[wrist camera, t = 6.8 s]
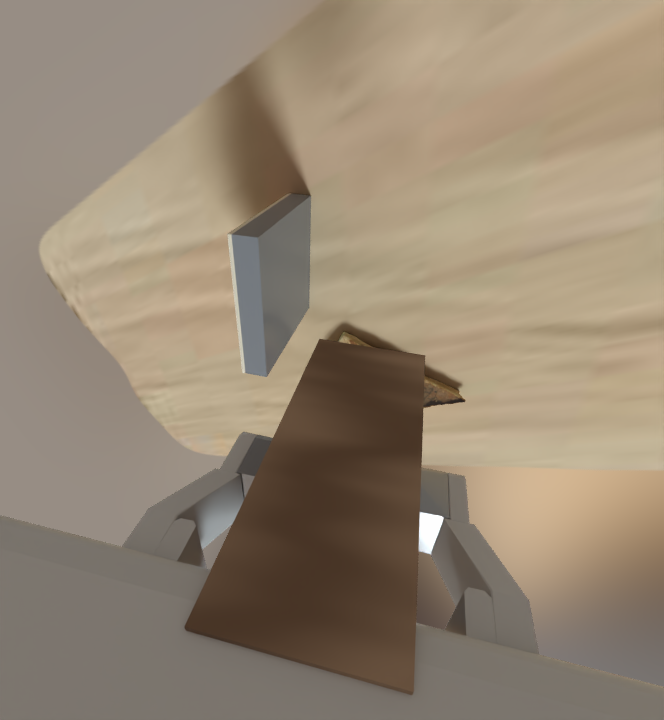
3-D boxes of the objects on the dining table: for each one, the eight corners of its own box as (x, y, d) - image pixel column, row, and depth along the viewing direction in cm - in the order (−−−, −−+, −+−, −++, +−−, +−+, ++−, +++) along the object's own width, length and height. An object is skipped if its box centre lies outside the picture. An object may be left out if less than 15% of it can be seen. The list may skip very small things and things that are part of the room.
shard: (465, 389, 31) (466, 403, 30) (412, 442, 36) (410, 457, 34) (346, 323, 30) (342, 334, 29) (307, 386, 35) (301, 399, 33)
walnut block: (425, 355, 14) (413, 691, 6) (407, 432, 17) (383, 752, 9) (319, 339, 15) (184, 626, 7) (317, 415, 17) (212, 700, 9)
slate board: (310, 195, 25) (258, 237, 18) (309, 307, 30) (266, 376, 22) (288, 193, 25) (227, 233, 18) (290, 304, 30) (242, 372, 22)
